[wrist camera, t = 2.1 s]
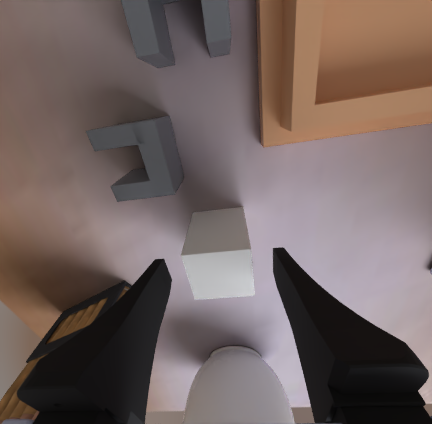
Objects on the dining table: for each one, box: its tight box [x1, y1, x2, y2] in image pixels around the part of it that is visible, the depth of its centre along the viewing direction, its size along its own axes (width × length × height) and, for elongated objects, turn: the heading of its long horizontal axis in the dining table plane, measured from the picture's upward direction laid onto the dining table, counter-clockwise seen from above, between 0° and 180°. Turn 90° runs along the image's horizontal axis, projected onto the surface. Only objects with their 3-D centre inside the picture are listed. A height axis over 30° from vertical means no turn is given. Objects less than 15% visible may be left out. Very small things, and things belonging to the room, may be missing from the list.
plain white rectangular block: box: [181, 207, 255, 300], centre depth 14 cm, size 4×4×5 cm
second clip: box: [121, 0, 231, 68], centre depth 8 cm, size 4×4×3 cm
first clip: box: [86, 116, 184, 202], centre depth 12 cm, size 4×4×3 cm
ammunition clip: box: [0, 281, 131, 424], centre depth 16 cm, size 11×2×12 cm, turn 123°
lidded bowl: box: [183, 346, 295, 424], centre depth 22 cm, size 13×13×11 cm
